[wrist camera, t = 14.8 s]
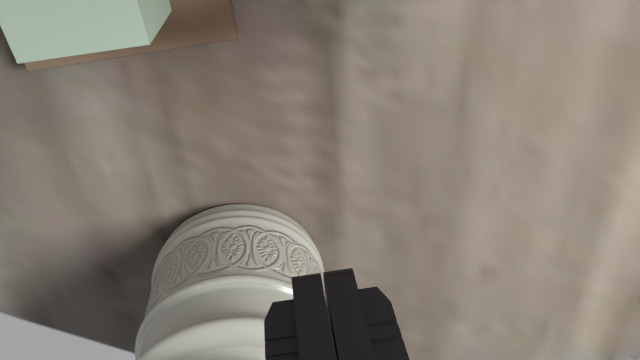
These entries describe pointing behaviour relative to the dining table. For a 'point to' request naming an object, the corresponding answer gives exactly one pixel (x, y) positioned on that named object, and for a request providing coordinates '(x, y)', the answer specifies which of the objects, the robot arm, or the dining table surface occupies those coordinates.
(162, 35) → the walnut board
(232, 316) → the jar
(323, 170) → the dining table surface
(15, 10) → the sage cap
